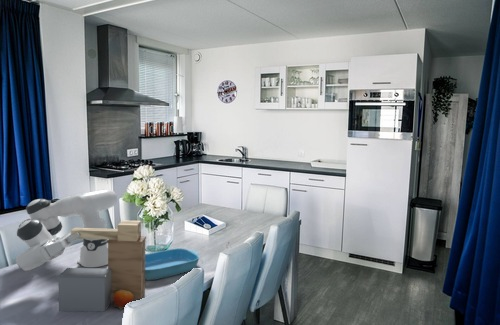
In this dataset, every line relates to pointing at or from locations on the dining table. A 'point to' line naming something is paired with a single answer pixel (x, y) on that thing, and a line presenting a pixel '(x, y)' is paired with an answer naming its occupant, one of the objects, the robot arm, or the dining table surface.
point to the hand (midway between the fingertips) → (81, 232)
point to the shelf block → (127, 266)
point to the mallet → (112, 232)
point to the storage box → (84, 289)
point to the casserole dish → (169, 263)
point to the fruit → (122, 298)
